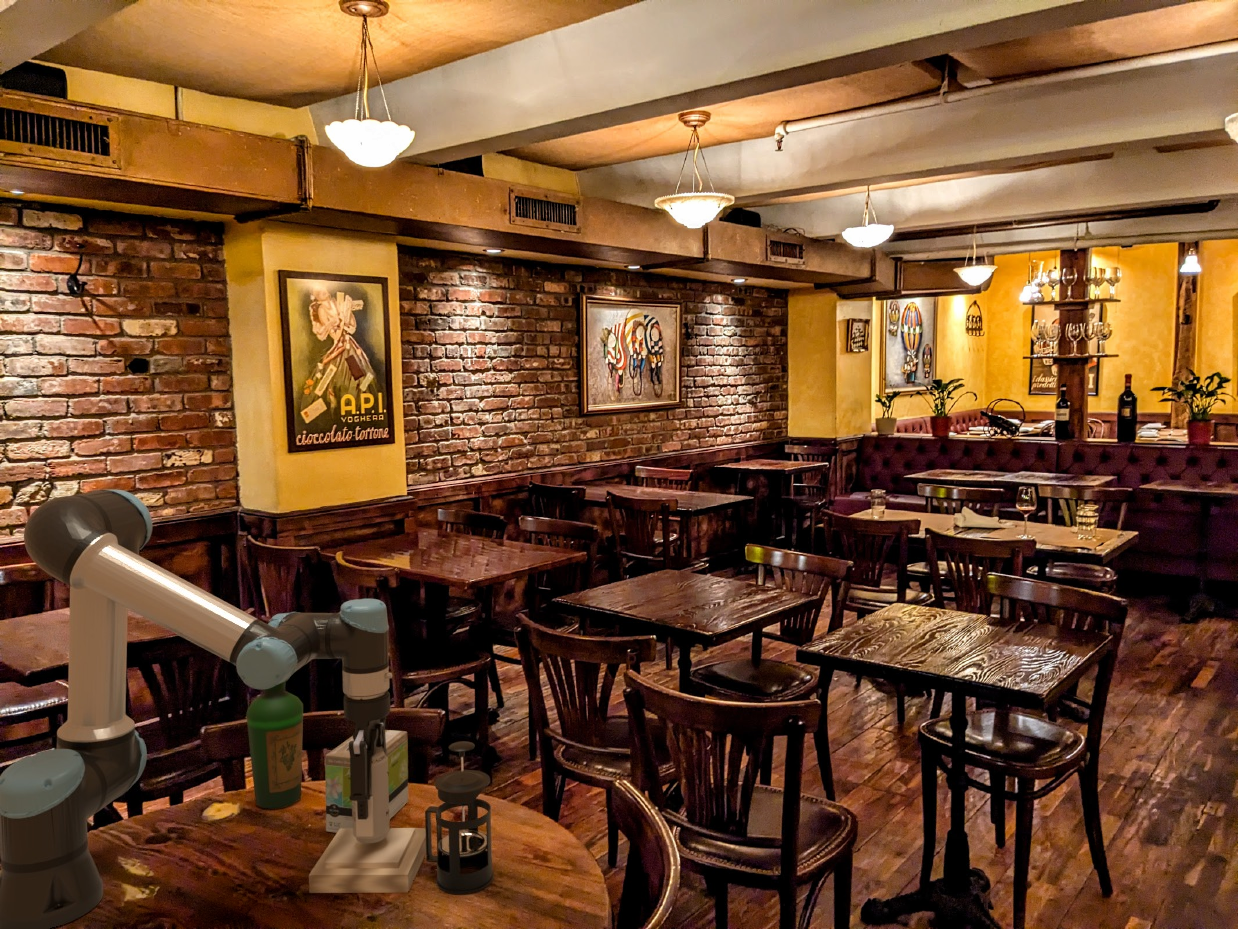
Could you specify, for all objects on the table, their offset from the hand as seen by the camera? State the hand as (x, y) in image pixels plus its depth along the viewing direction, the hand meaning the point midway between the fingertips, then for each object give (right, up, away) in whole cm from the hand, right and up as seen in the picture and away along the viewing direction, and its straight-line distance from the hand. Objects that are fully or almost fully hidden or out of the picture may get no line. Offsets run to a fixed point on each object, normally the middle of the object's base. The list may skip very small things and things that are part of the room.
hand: (370, 825), depth 157 cm
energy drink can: (0, -2, 0) cm, 2 cm away
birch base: (0, -7, +1) cm, 7 cm away
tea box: (-6, -6, +20) cm, 21 cm away
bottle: (-25, -6, +27) cm, 37 cm away
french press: (+16, -8, -4) cm, 18 cm away
